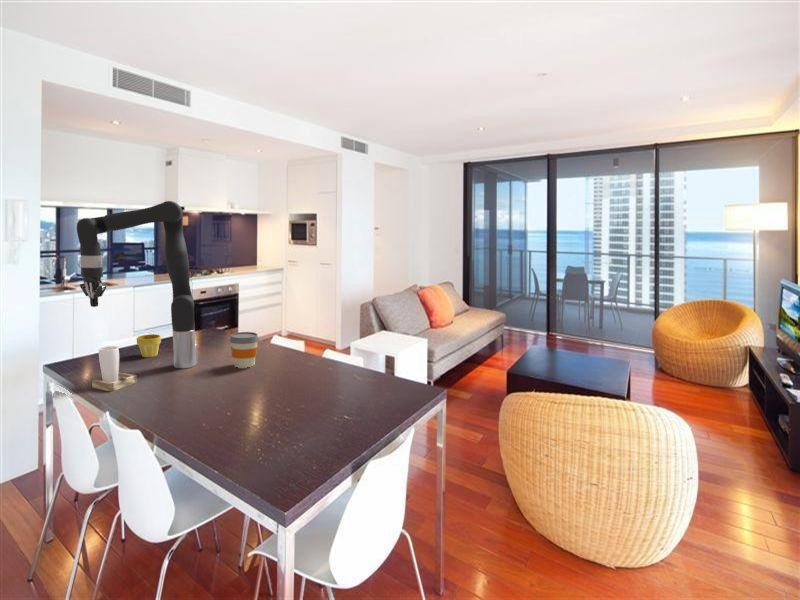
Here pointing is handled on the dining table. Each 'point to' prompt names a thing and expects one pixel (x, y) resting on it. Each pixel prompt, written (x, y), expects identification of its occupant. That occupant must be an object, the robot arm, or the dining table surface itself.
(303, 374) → the dining table surface
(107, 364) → the drinking glass
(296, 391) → the dining table surface
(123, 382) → the oak dock
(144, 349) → the plant pot
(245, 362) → the reusable coffee cup
